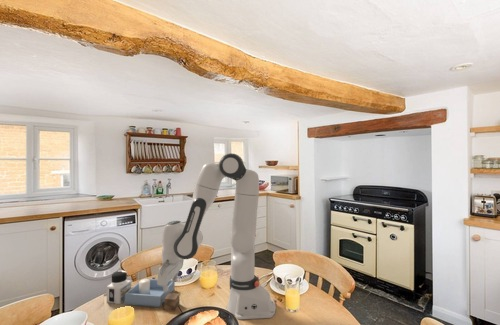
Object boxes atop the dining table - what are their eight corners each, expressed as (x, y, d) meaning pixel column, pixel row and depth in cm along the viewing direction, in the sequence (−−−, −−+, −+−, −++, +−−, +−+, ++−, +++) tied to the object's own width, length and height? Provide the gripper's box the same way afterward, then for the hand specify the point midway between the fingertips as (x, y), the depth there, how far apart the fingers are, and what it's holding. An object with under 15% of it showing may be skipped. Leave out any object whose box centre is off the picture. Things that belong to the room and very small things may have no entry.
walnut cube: (179, 304, 115) (179, 293, 115) (174, 310, 110) (175, 299, 110) (169, 303, 115) (169, 293, 115) (164, 309, 110) (164, 298, 110)
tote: (174, 289, 127) (174, 280, 128) (160, 307, 112) (160, 296, 112) (143, 287, 129) (143, 278, 130) (124, 304, 114) (124, 293, 114)
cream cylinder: (151, 292, 123) (151, 279, 123) (146, 298, 118) (146, 283, 118) (142, 292, 124) (142, 278, 124) (136, 297, 119) (136, 283, 119)
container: (120, 304, 114) (120, 276, 114) (106, 302, 116) (106, 275, 116) (131, 295, 122) (131, 269, 122) (118, 293, 123) (118, 268, 123)
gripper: (168, 266, 102) (166, 299, 102) (186, 249, 122) (185, 276, 122) (153, 264, 103) (152, 297, 103) (174, 248, 123) (173, 275, 123)
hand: (170, 286), depth 113 cm, fingers open, 8 cm apart
